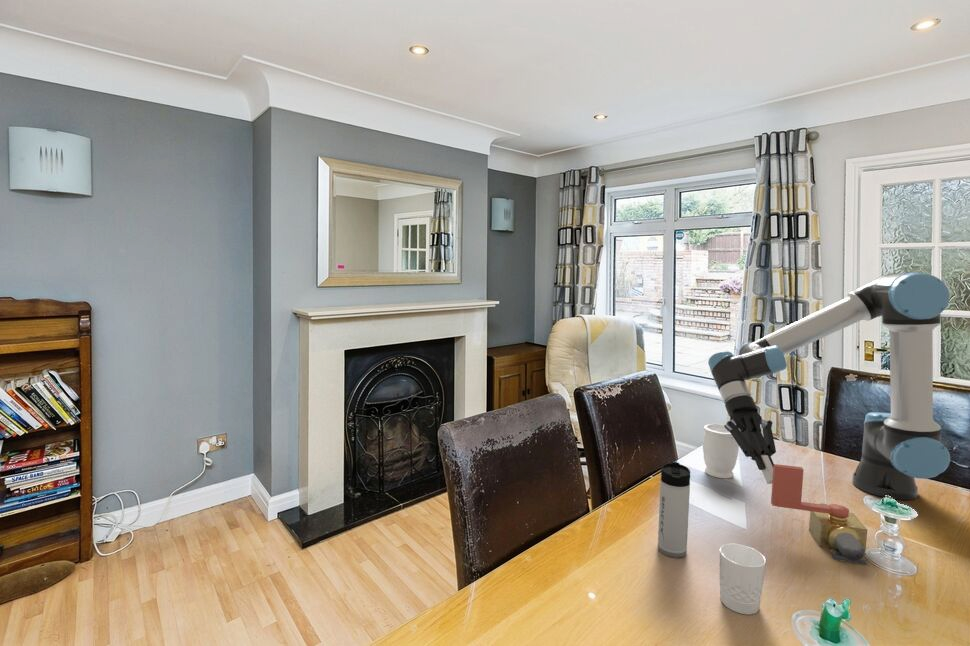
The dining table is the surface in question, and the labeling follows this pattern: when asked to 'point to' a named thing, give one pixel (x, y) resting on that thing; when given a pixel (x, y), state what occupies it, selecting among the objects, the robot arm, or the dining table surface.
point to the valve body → (840, 536)
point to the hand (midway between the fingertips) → (772, 481)
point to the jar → (719, 451)
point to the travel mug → (674, 510)
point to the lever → (797, 492)
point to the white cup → (741, 578)
